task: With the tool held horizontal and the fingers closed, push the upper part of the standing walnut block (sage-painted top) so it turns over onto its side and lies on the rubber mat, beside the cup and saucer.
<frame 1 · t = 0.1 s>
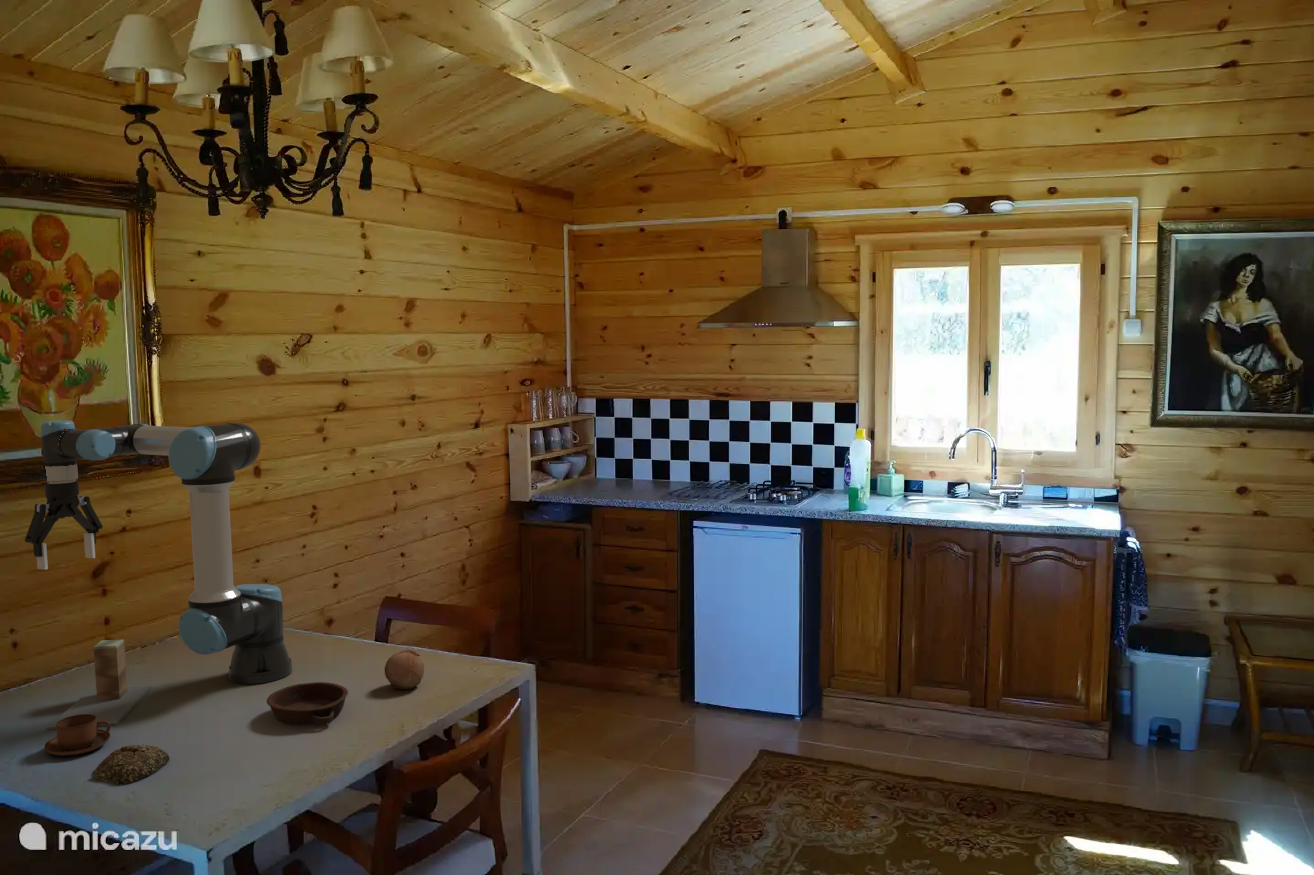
hand: (67, 563, 262), 28 cm above the table, tool pointing down, fingers open, 13 cm apart
onion: (405, 687, 250), on the table
cup and saucer: (78, 749, 215), on the table
walnut block: (112, 696, 243), point 1 cm above the table, touching rubber mat
bread roll: (129, 771, 204), on the table
dish: (308, 716, 233), on the table
rubber mat: (102, 707, 237), on the table
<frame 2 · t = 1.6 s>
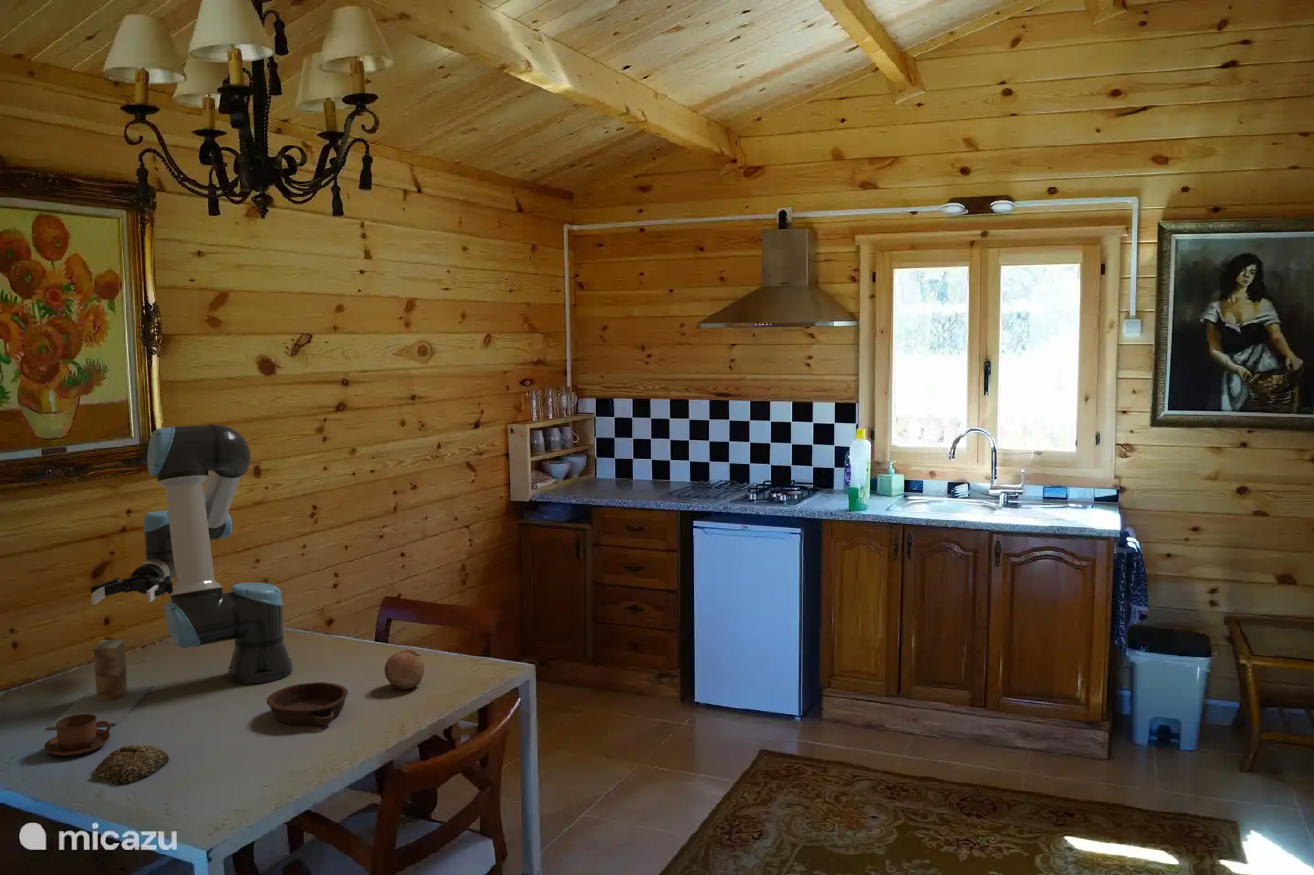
hand: (121, 598, 250), 22 cm above the table, tool horizontal, fingers open, 12 cm apart
nothing on the table moved.
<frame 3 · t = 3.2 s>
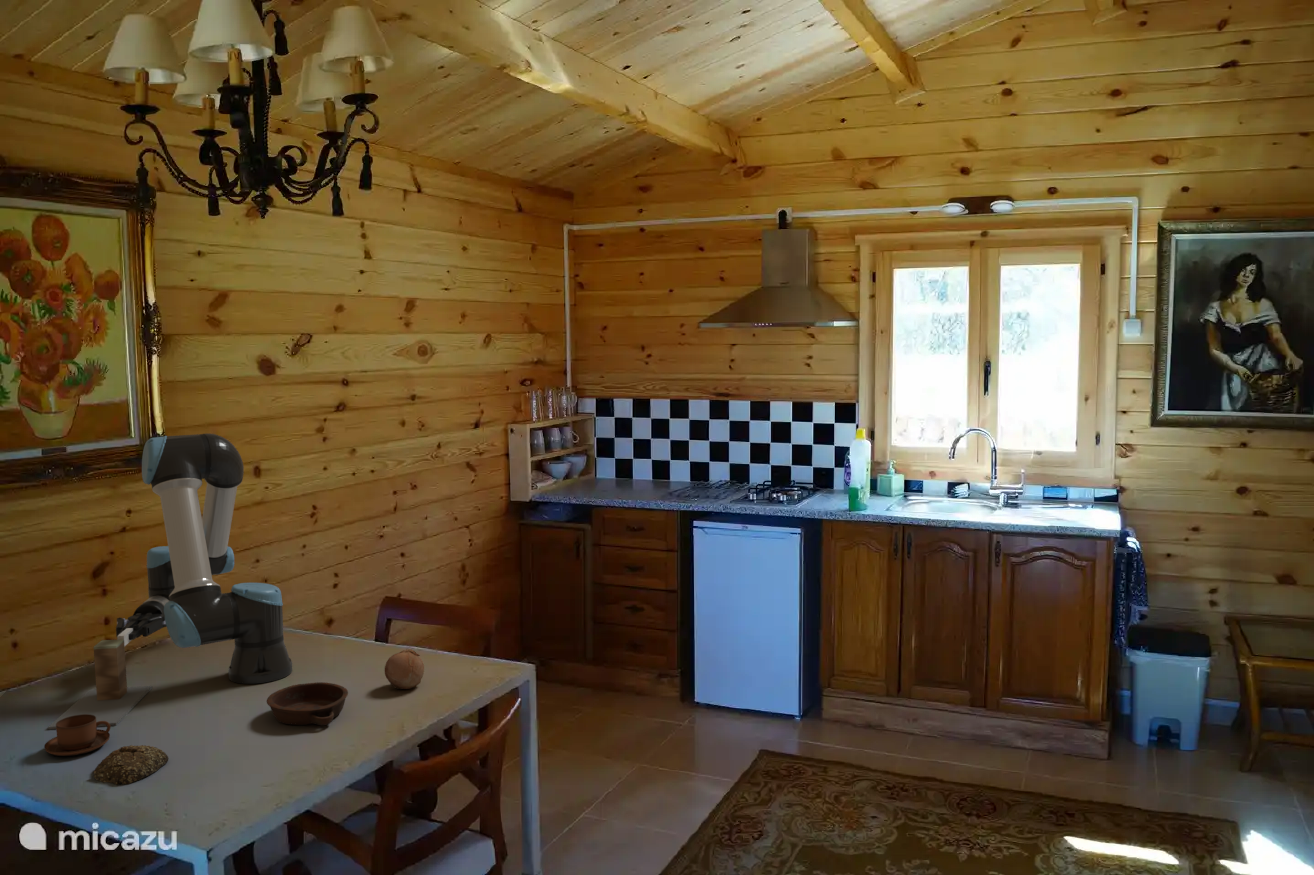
hand: (120, 641, 250), 12 cm above the table, tool horizontal, fingers closed
nothing on the table moved.
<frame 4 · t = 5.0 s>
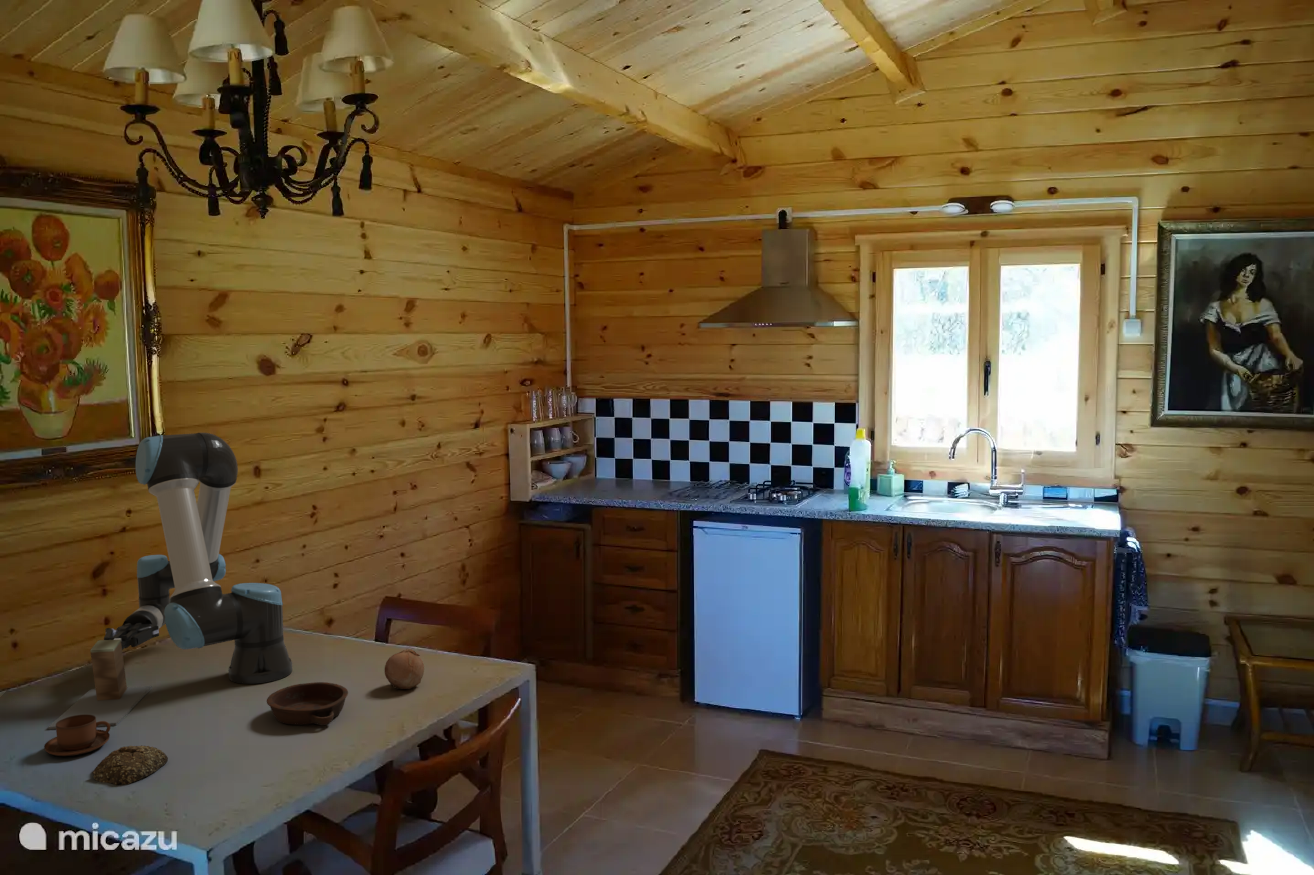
hand: (108, 651, 243), 11 cm above the table, tool horizontal, fingers closed
walnut block: (112, 694, 243), point 1 cm above the table, tilted 9°, touching rubber mat
everything else where it was.
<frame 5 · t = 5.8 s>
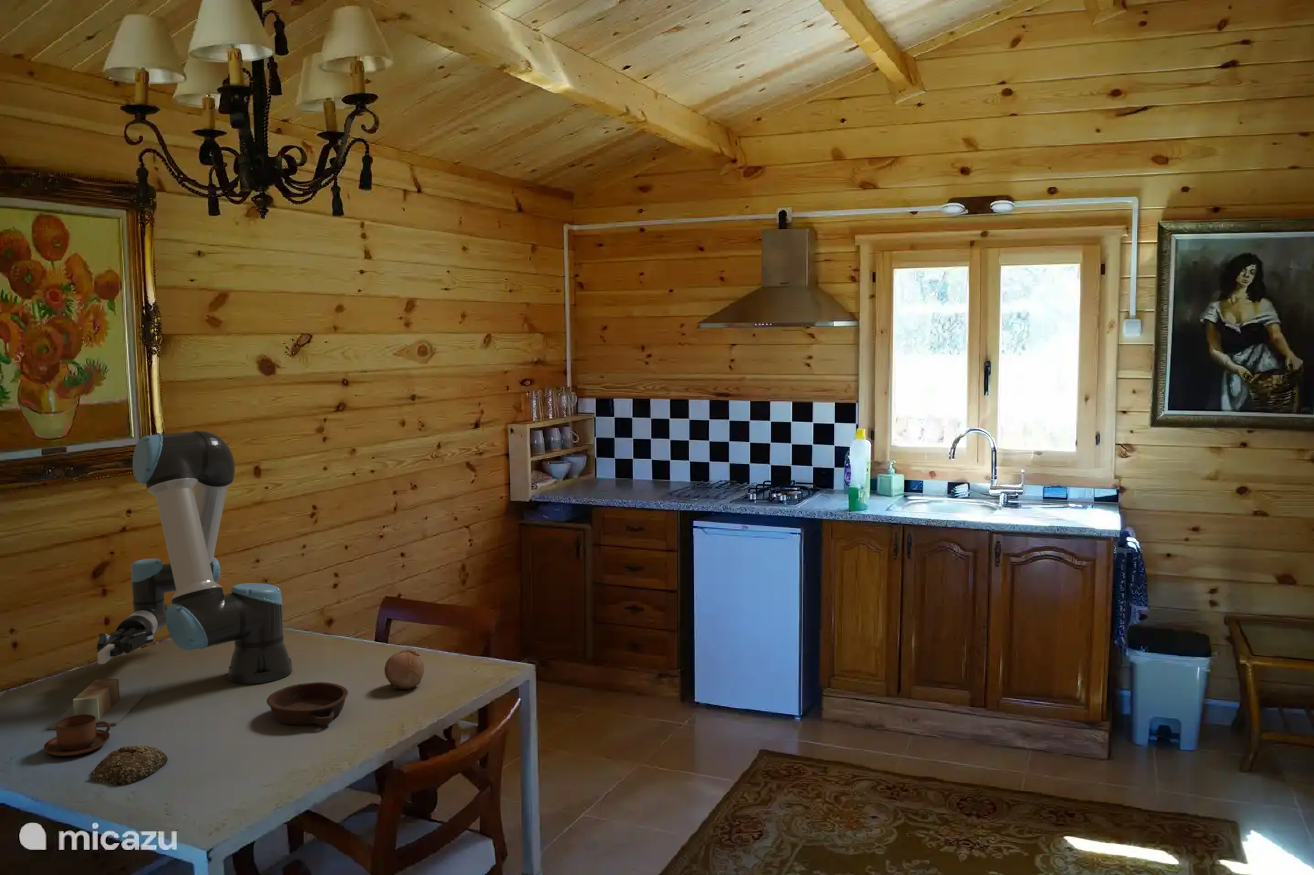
hand: (101, 658, 239), 11 cm above the table, tool horizontal, fingers closed
walnut block: (107, 689, 241), point 3 cm above the table, tilted 90°, touching rubber mat
everything else where it was.
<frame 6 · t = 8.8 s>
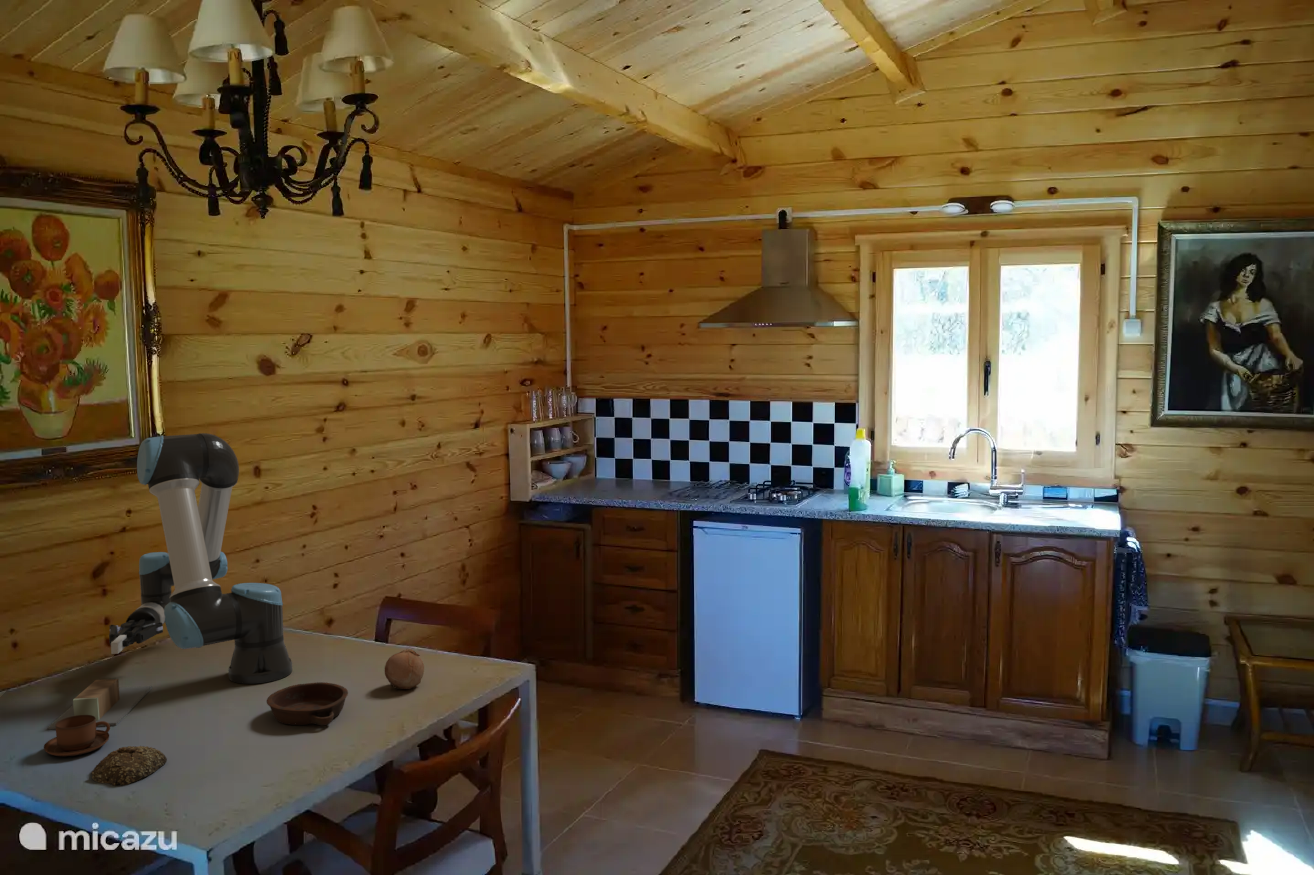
hand: (114, 648, 246), 11 cm above the table, tool horizontal, fingers closed
nothing on the table moved.
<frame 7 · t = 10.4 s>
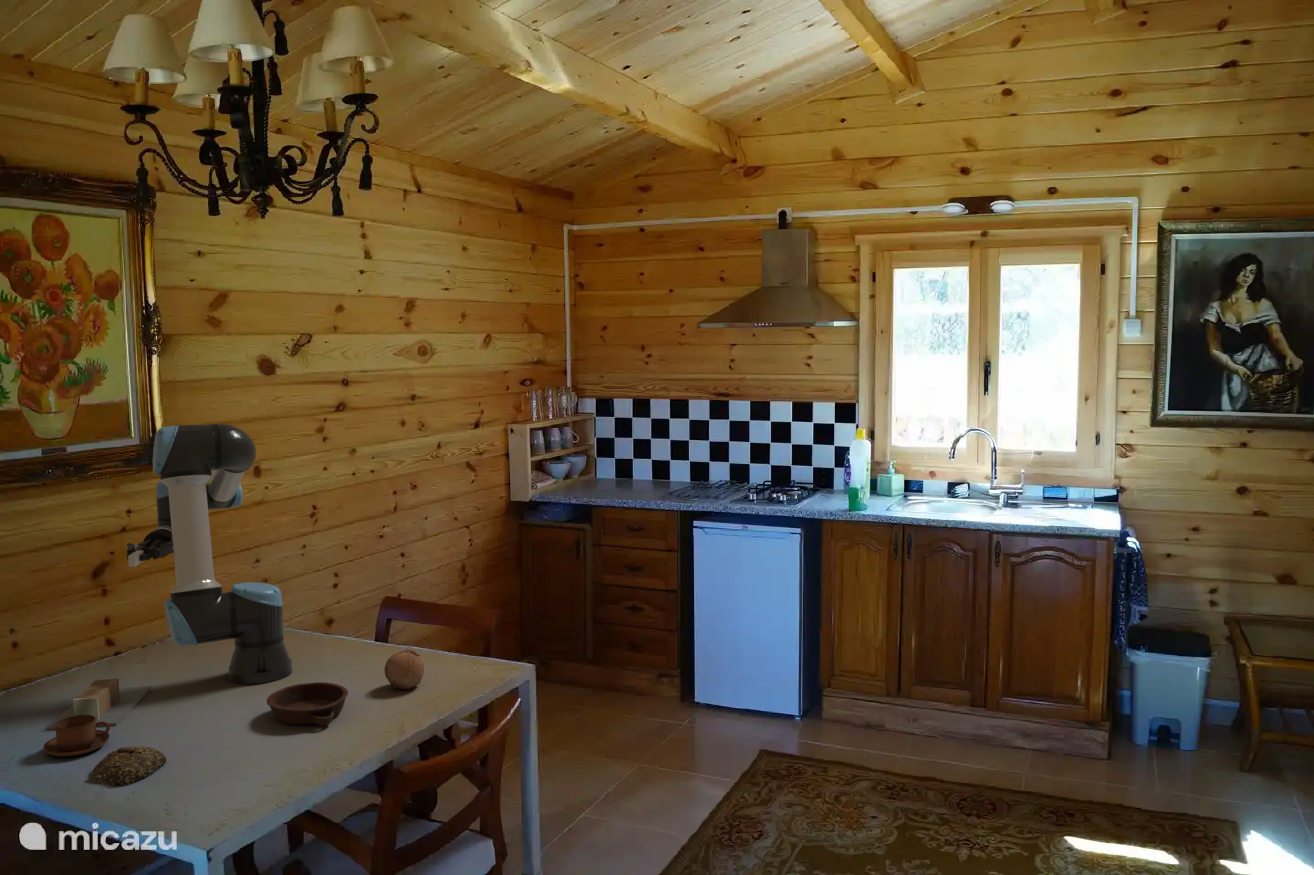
hand: (131, 561, 255), 30 cm above the table, tool horizontal, fingers closed
nothing on the table moved.
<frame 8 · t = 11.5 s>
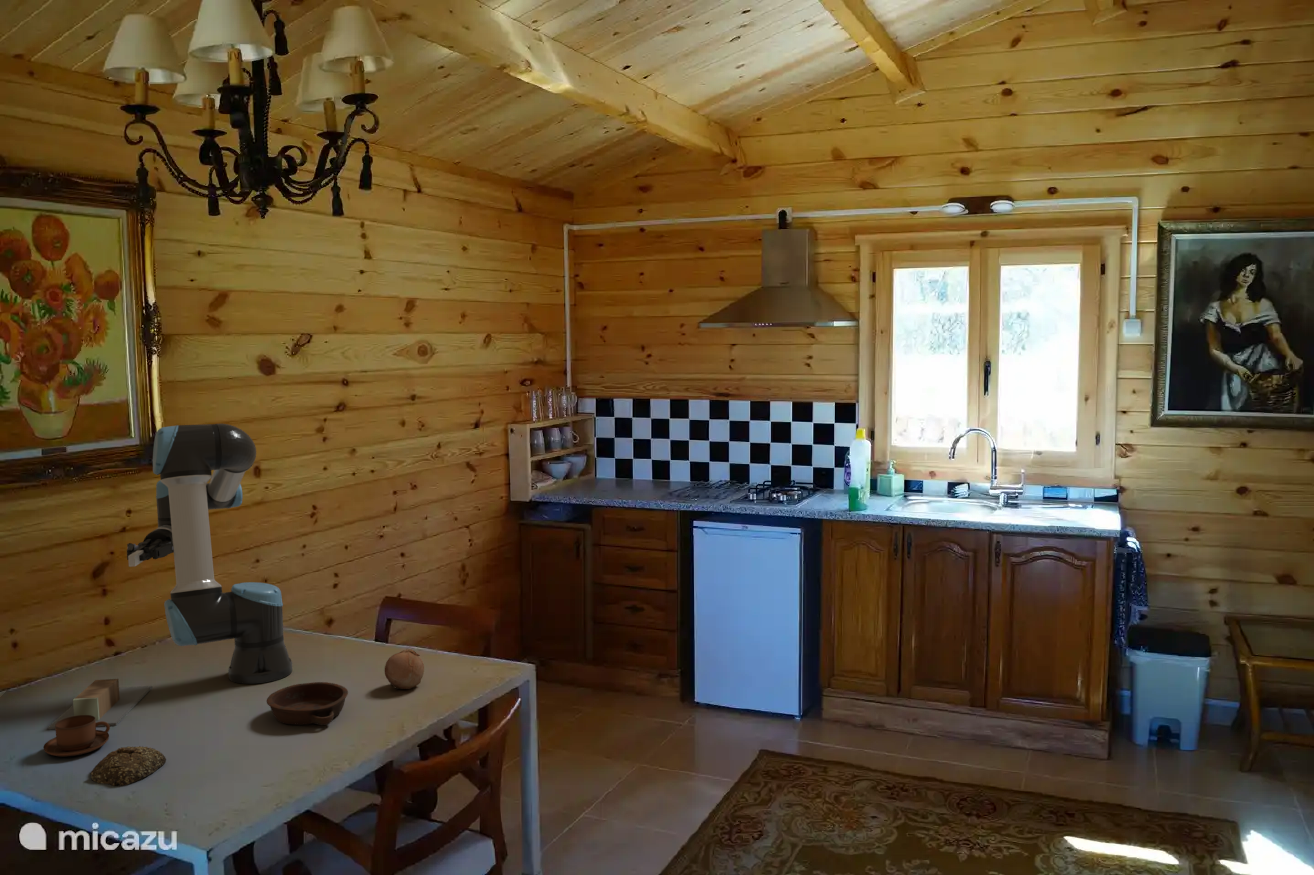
hand: (131, 561, 255), 30 cm above the table, tool horizontal, fingers closed
nothing on the table moved.
at the end: walnut block tilted 90°; walnut block inside the target area (4.0 cm from its centre), point 3.1 cm above the table; walnut block 27.9 cm from the cup and saucer (horizontally) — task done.
